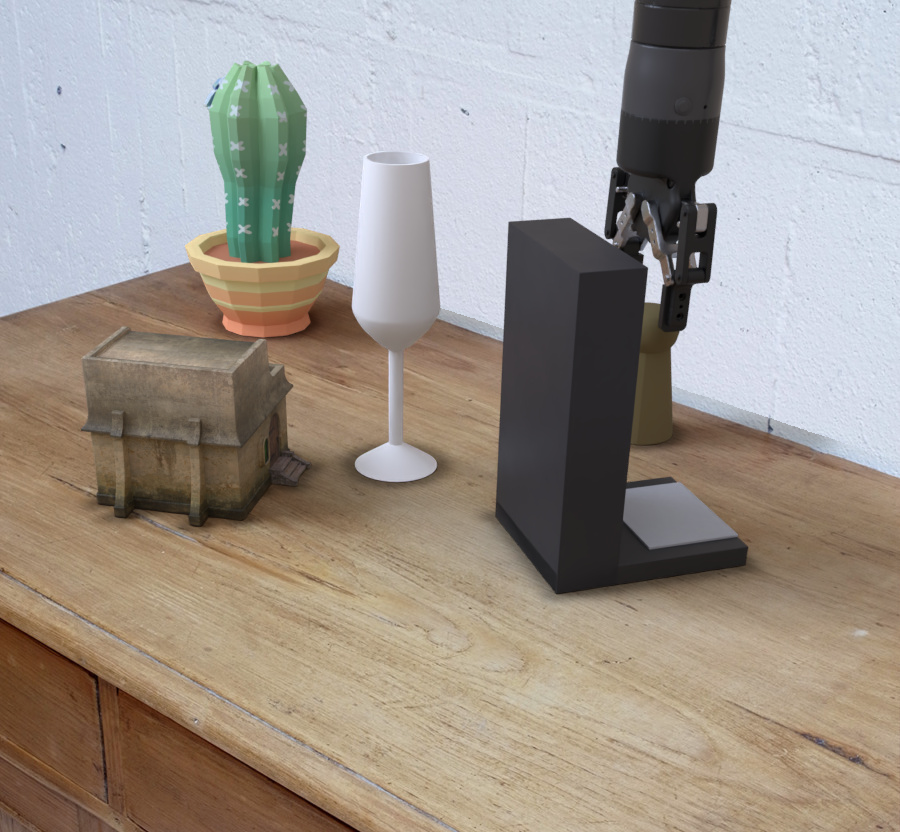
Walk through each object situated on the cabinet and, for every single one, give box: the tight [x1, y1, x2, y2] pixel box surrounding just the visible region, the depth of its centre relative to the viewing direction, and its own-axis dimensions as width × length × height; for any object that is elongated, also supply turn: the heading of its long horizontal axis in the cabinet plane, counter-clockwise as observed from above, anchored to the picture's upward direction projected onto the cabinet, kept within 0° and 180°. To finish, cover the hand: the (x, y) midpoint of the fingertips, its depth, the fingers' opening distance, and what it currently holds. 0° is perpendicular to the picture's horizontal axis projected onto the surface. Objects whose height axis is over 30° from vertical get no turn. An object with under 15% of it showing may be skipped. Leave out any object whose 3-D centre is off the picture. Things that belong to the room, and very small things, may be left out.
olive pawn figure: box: [631, 301, 681, 446], centre depth 110 cm, size 6×6×11 cm
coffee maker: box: [494, 217, 749, 595], centre depth 90 cm, size 14×12×22 cm
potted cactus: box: [184, 60, 341, 338], centre depth 129 cm, size 15×15×25 cm
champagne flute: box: [351, 150, 441, 483], centre depth 100 cm, size 7×7×24 cm
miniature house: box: [80, 325, 312, 528], centre depth 100 cm, size 15×14×11 cm
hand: (647, 313), depth 108 cm, fingers open, 8 cm apart
